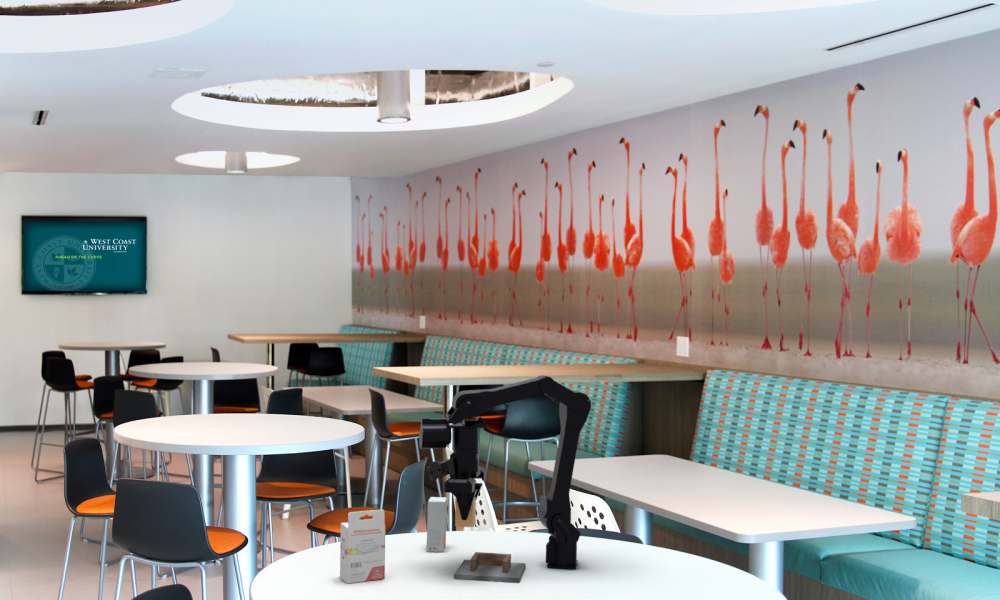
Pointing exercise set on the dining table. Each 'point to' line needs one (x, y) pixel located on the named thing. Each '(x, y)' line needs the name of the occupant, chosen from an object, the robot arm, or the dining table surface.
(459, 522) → the connector plug
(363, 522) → the ink cartridge box
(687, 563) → the dining table surface
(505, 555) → the end holder
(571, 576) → the dining table surface
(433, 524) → the skincare box
